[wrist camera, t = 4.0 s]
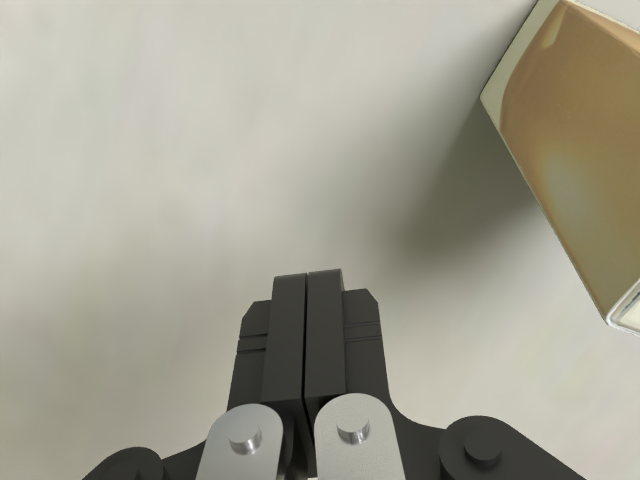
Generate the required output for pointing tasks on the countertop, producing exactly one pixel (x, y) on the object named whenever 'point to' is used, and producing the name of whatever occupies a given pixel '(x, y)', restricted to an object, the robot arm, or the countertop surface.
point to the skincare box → (579, 142)
